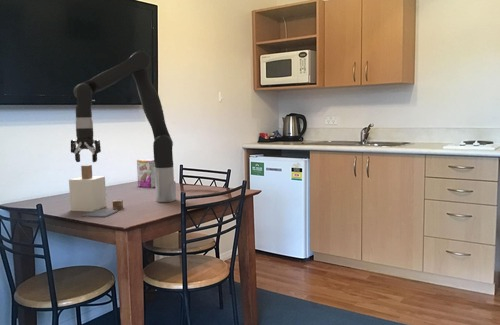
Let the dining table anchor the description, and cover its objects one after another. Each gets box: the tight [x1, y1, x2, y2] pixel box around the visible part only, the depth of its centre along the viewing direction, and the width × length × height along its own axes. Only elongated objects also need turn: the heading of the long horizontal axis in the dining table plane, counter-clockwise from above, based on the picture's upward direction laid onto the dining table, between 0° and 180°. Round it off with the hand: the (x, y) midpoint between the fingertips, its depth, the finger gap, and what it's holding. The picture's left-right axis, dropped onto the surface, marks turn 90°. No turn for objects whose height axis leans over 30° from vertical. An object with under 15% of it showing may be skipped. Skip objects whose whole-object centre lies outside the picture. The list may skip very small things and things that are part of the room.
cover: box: [68, 164, 107, 212], centre depth 218 cm, size 12×12×21 cm
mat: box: [82, 209, 119, 218], centre depth 207 cm, size 11×11×1 cm
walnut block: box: [112, 199, 124, 211], centre depth 218 cm, size 4×4×4 cm
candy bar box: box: [136, 158, 156, 189], centre depth 279 cm, size 11×5×16 cm, turn 58°
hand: (86, 162), depth 217 cm, fingers open, 8 cm apart
